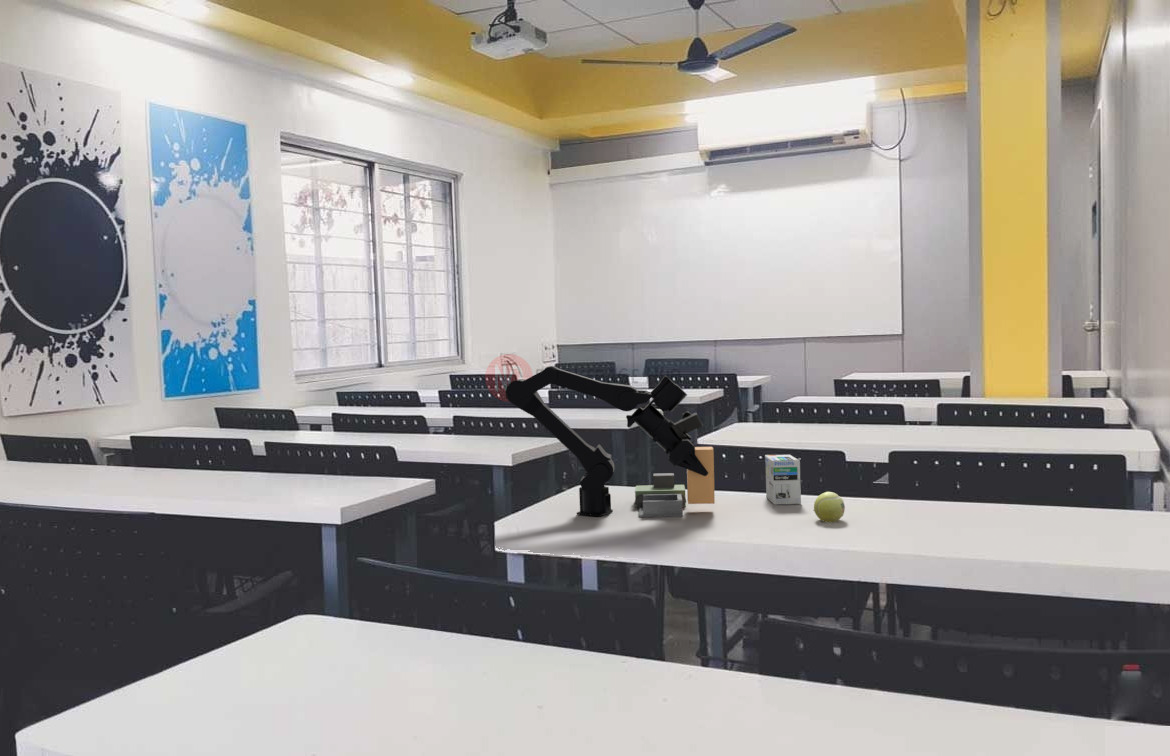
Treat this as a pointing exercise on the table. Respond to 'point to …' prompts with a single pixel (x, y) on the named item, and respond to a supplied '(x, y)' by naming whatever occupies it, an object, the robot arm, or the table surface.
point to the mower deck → (660, 488)
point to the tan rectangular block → (702, 479)
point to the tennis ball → (829, 507)
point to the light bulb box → (783, 479)
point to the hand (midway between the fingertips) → (706, 472)
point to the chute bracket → (661, 505)
